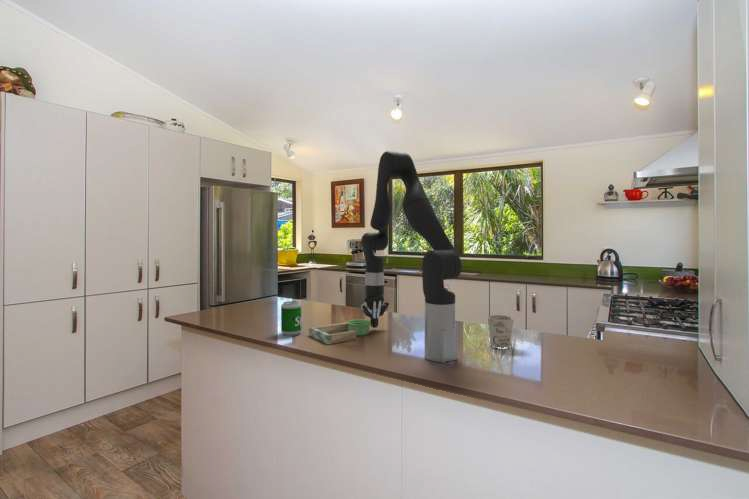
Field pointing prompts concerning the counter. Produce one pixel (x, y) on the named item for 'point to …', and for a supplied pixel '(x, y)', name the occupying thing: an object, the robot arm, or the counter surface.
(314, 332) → the rail pocket
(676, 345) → the counter surface
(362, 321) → the ramekin
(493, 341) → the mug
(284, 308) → the soda can
